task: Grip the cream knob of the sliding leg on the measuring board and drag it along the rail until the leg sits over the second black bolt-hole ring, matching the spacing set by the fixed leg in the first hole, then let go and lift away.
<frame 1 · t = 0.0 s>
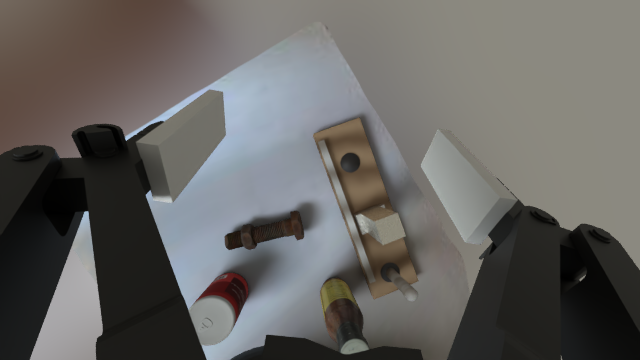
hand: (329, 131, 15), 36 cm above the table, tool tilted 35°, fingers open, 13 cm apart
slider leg: (379, 222, 44), point 8 cm above the table, slide at 0.0 cm
bolt: (266, 229, 51), on the table
sauce bottle: (334, 289, 52), on the table
canned food: (230, 290, 50), on the table
measuring board: (364, 207, 52), on the table
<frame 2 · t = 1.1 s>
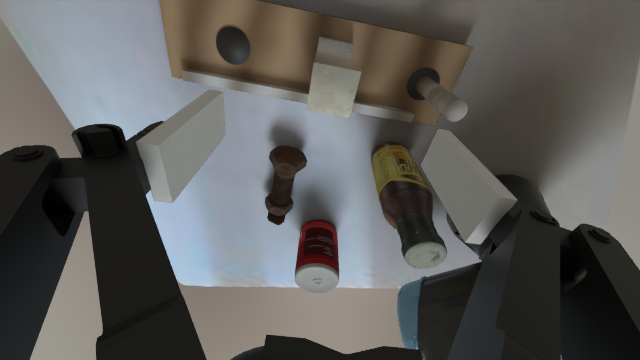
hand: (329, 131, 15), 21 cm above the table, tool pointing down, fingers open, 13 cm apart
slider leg: (331, 76, 26), point 8 cm above the table, slide at 0.0 cm
bolt: (283, 181, 44), on the table
sauce bottle: (388, 155, 40), on the table
canned food: (318, 231, 51), on the table
measuring board: (316, 59, 32), on the table
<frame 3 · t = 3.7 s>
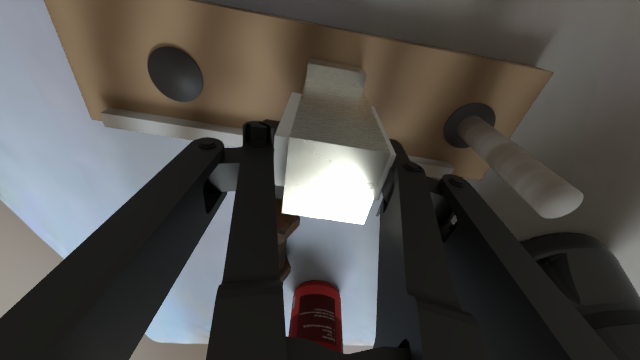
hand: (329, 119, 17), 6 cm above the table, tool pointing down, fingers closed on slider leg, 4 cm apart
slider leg: (329, 132, 15), point 8 cm above the table, slide at 0.0 cm, touching gripper
bolt: (275, 238, 33), on the table
canned food: (317, 291, 40), on the table
measuring board: (306, 90, 21), on the table
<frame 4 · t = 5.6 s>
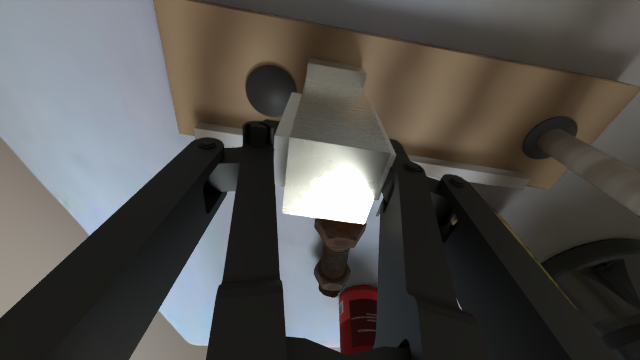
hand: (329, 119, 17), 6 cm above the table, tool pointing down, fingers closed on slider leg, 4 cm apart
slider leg: (330, 132, 15), point 8 cm above the table, slide at 7.3 cm, touching gripper
bolt: (333, 243, 34), on the table
canned food: (361, 296, 41), on the table
measuring board: (387, 104, 22), on the table
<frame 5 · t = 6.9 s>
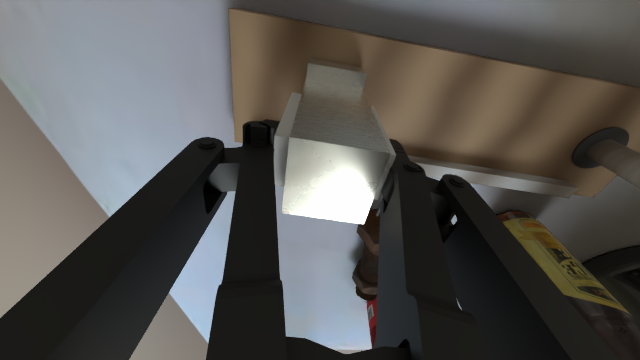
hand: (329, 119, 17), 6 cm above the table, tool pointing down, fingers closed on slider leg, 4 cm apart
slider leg: (329, 132, 15), point 8 cm above the table, slide at 12.2 cm, touching gripper
bolt: (370, 247, 34), on the table
sauce bottle: (502, 224, 30), on the table
canned food: (388, 299, 41), on the table
measuring board: (439, 113, 22), on the table
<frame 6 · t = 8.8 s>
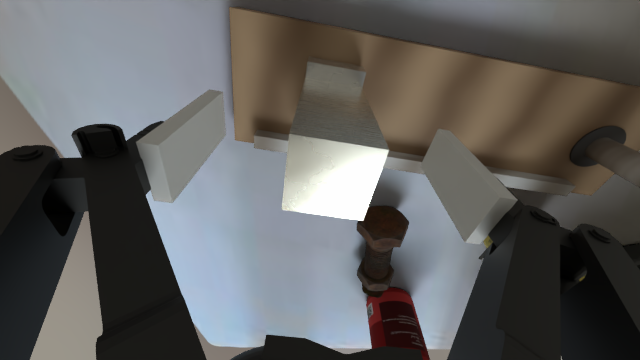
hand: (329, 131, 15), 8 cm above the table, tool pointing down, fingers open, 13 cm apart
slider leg: (329, 130, 15), point 8 cm above the table, slide at 12.3 cm
bolt: (373, 244, 34), on the table
canned food: (388, 298, 41), on the table
measuring board: (439, 112, 22), on the table
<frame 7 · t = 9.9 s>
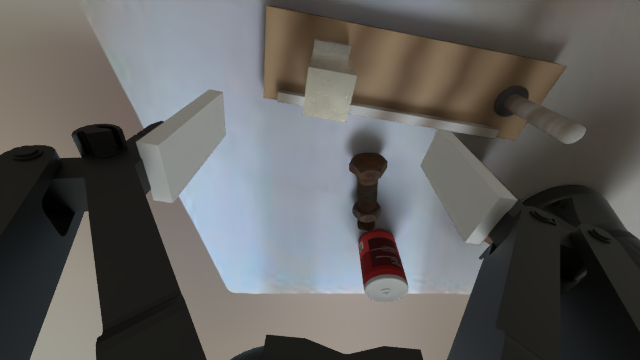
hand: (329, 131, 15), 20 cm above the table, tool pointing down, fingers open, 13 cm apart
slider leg: (328, 79, 25), point 8 cm above the table, slide at 12.3 cm
bolt: (364, 188, 44), on the table
canned food: (375, 240, 52), on the table
measuring board: (403, 78, 32), on the table
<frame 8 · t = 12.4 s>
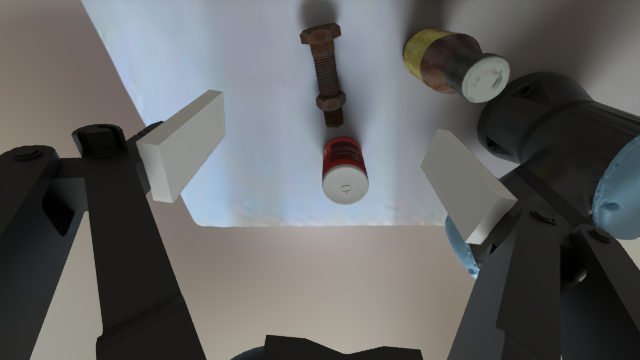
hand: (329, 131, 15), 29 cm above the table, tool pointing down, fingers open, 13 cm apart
bolt: (327, 77, 41), on the table
sauce bottle: (420, 50, 38), on the table
canned food: (342, 153, 49), on the table
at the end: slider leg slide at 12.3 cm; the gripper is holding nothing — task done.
